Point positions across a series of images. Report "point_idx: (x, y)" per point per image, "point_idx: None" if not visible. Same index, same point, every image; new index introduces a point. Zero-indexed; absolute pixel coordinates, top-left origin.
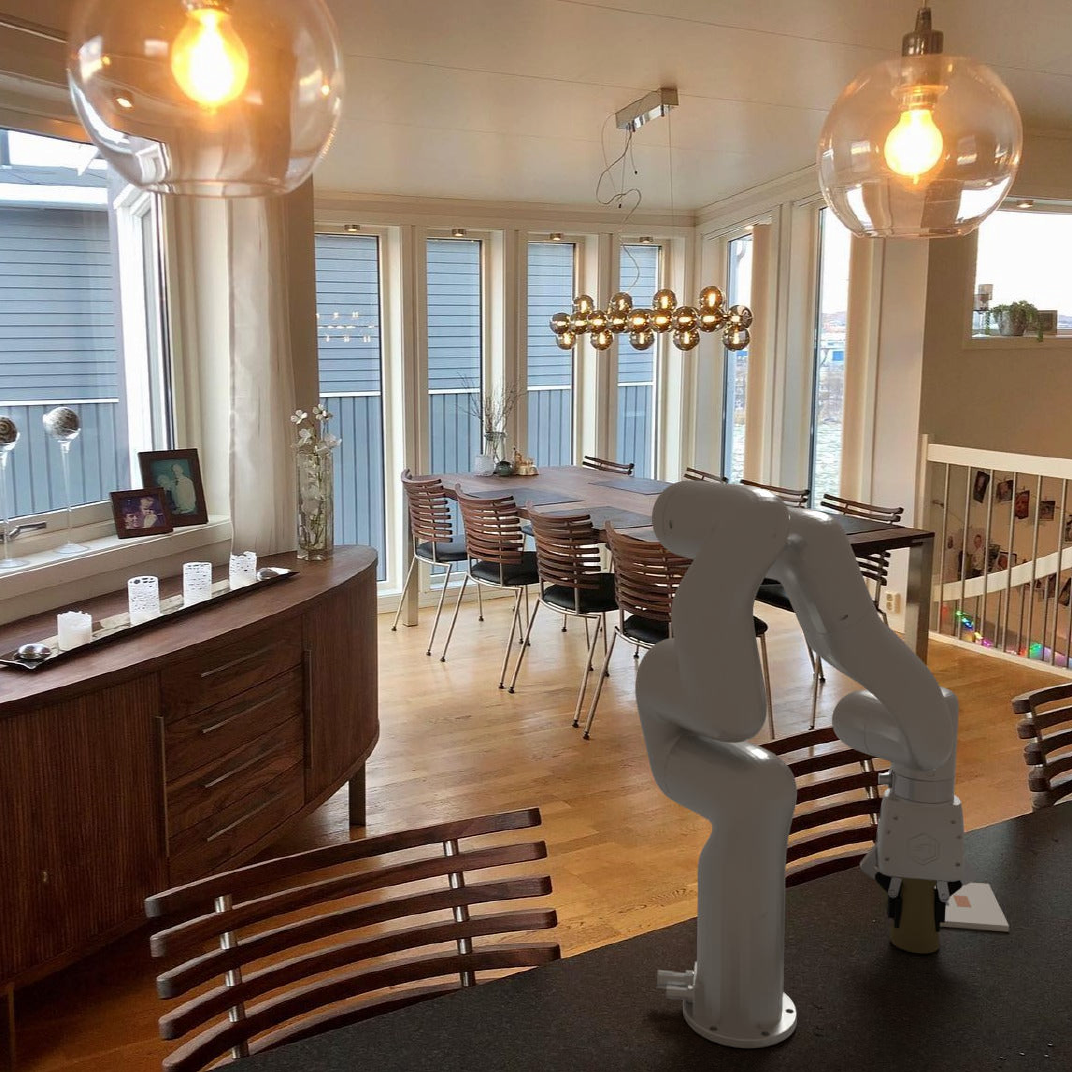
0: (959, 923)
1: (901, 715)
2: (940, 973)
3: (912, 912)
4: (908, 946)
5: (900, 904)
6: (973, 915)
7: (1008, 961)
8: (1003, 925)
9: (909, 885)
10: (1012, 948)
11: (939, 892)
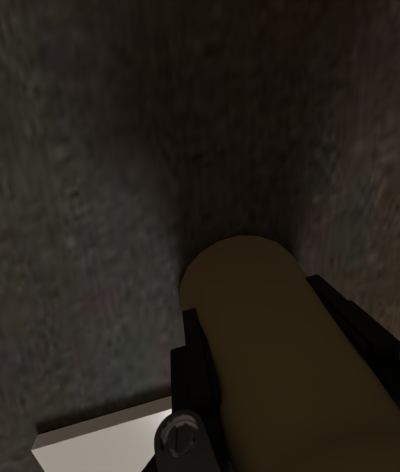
0: (145, 412)
1: None
2: (162, 170)
3: (296, 311)
4: (259, 241)
5: (354, 331)
6: (119, 454)
7: (3, 310)
8: (44, 446)
9: None
10: (11, 372)
11: (208, 454)
